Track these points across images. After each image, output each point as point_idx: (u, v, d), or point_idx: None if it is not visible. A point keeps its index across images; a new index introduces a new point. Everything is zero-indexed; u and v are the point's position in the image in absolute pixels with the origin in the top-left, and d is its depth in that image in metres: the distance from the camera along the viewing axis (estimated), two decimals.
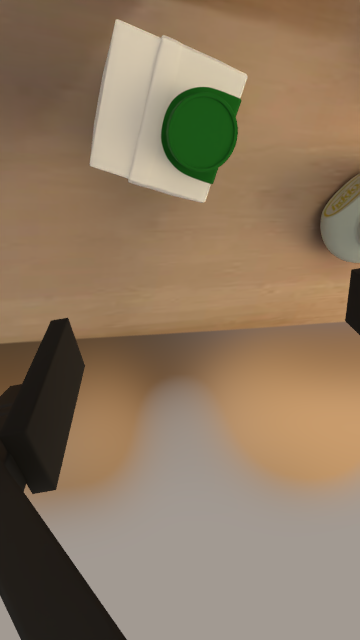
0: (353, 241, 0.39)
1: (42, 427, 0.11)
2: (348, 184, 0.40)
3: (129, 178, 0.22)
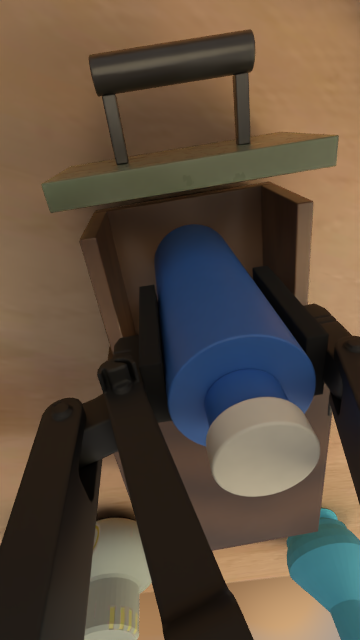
0: None
1: (163, 366, 0.13)
2: None
3: None
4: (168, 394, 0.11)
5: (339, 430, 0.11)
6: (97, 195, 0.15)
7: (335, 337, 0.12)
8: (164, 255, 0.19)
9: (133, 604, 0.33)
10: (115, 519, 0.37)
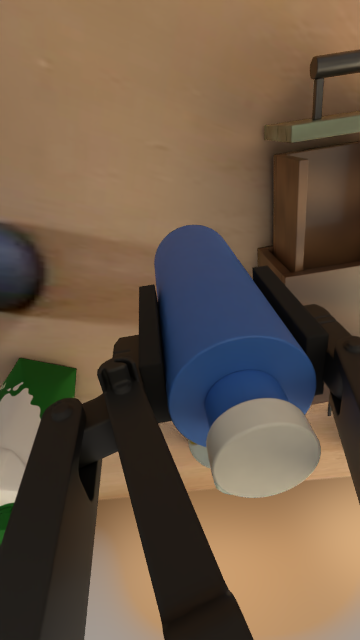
0: (209, 464, 0.48)
1: (163, 366, 0.13)
2: None
3: None
4: (168, 395, 0.11)
5: (339, 430, 0.11)
6: (318, 133, 0.27)
7: (335, 336, 0.12)
8: (164, 256, 0.19)
9: None
10: None
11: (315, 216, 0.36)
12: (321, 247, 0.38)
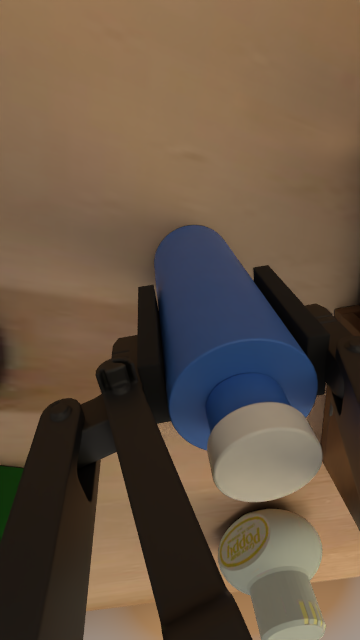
0: (249, 594, 0.35)
1: (162, 367, 0.13)
2: (245, 522, 0.36)
3: None
4: (169, 398, 0.11)
5: (340, 430, 0.11)
6: None
7: (336, 336, 0.12)
8: (164, 256, 0.19)
9: (315, 598, 0.31)
10: (275, 510, 0.35)
11: None
12: None
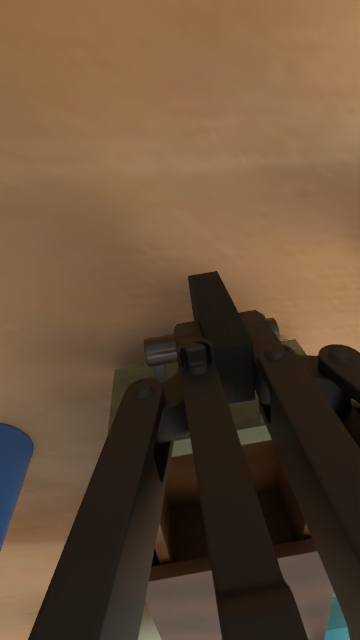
0: None
1: None
2: None
3: None
4: None
5: (272, 438, 0.11)
6: None
7: (264, 343, 0.13)
8: None
9: None
10: None
11: None
12: None
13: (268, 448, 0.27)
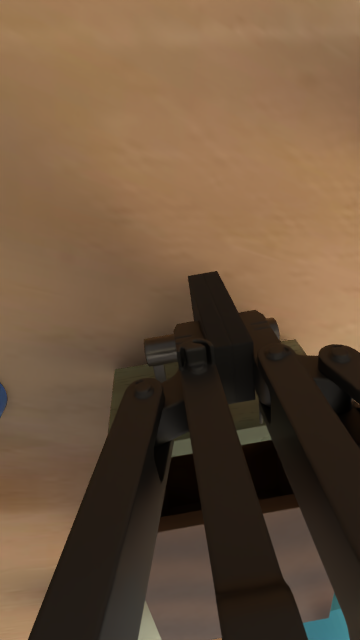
0: None
1: None
2: None
3: None
4: None
5: (272, 438, 0.11)
6: None
7: (264, 343, 0.13)
8: None
9: None
10: None
11: None
12: None
13: (268, 448, 0.27)
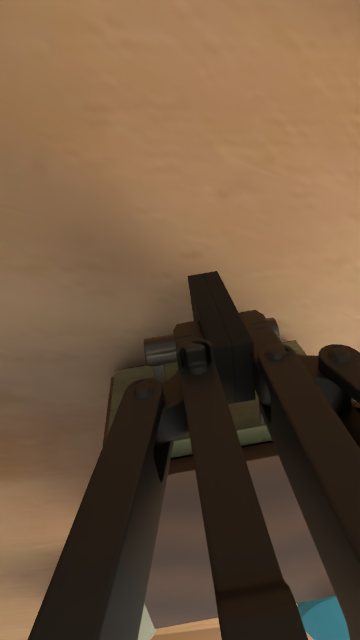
0: None
1: None
2: None
3: None
4: None
5: (273, 438, 0.11)
6: None
7: (264, 343, 0.13)
8: None
9: None
10: None
11: None
12: None
13: None
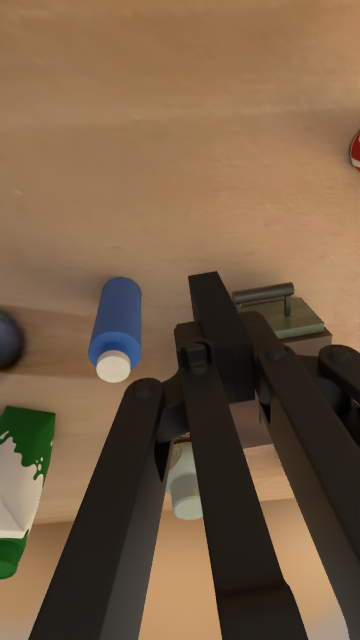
0: None
1: None
2: None
3: None
4: (88, 351, 0.33)
5: (272, 438, 0.11)
6: None
7: (264, 343, 0.13)
8: (102, 294, 0.41)
9: None
10: (189, 442, 0.57)
11: None
12: None
13: None
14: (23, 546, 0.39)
